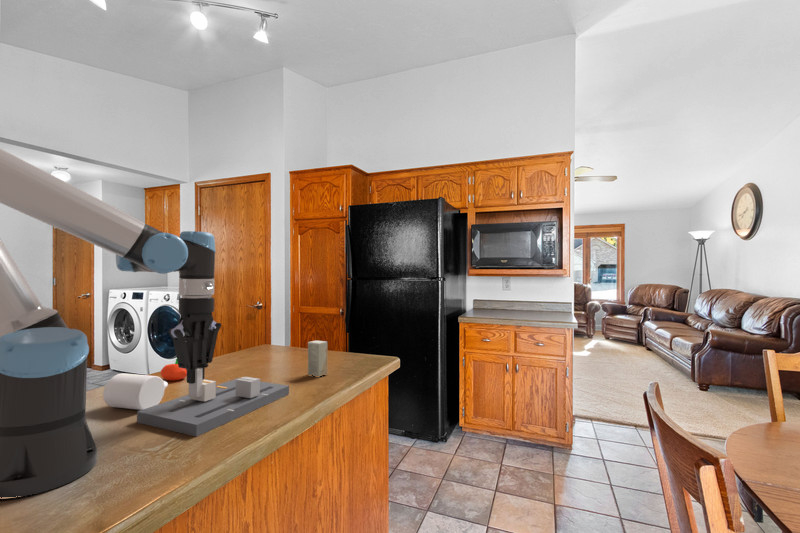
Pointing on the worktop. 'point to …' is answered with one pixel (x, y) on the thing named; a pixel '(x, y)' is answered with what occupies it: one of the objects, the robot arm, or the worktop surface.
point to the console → (208, 409)
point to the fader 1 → (207, 391)
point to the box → (317, 358)
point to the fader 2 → (247, 387)
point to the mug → (134, 391)
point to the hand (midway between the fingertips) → (195, 395)
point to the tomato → (173, 372)
